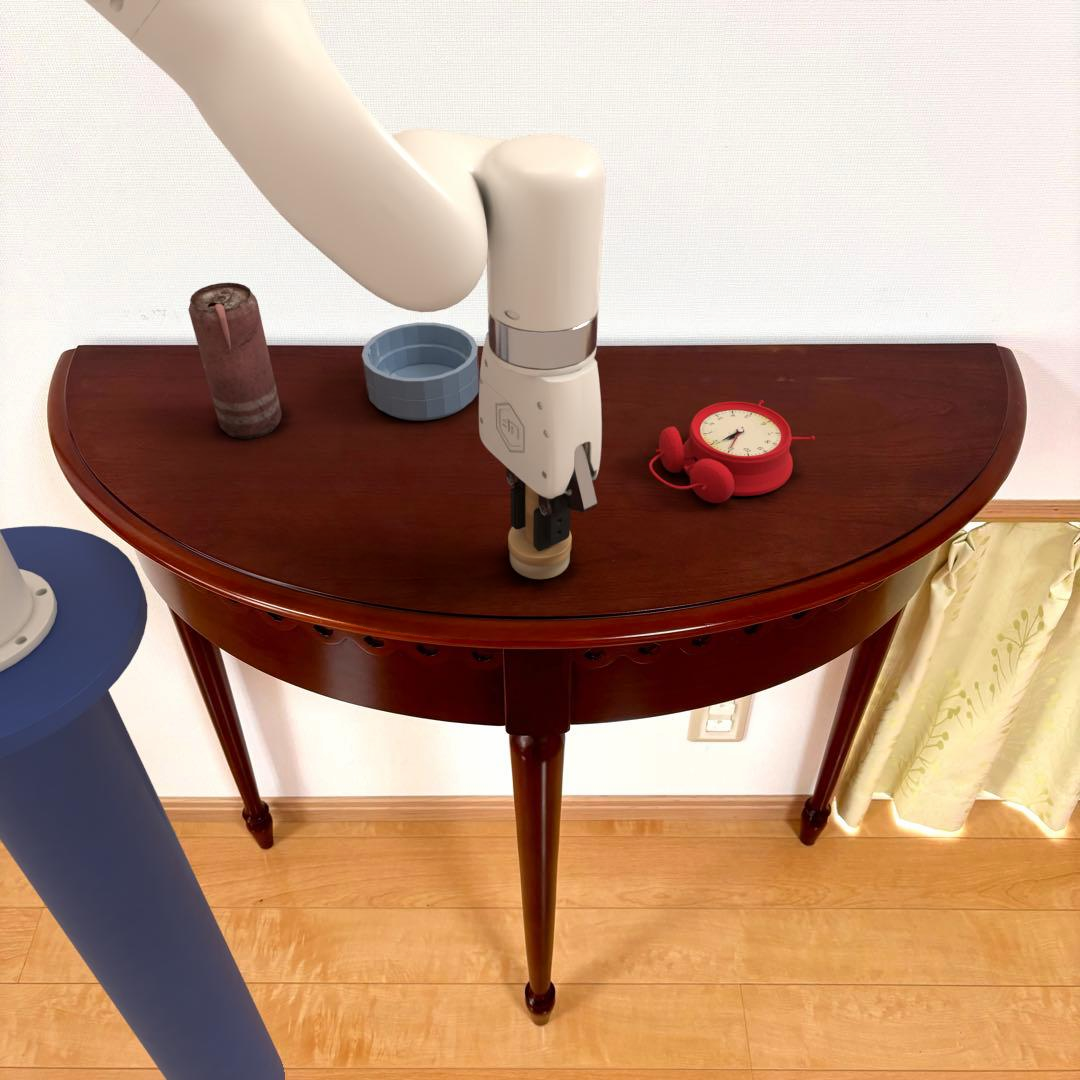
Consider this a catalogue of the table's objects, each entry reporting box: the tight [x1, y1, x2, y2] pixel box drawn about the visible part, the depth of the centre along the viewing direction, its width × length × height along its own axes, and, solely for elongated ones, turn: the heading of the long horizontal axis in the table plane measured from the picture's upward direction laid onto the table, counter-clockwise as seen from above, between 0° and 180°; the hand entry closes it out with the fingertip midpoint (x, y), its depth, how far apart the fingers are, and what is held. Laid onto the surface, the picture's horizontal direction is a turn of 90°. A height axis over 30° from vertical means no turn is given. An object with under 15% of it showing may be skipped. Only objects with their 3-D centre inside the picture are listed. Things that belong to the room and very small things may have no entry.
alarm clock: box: [648, 399, 816, 504], centre depth 89 cm, size 10×6×15 cm
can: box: [187, 282, 283, 440], centre depth 92 cm, size 6×6×14 cm
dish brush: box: [507, 484, 573, 580], centre depth 77 cm, size 5×5×8 cm
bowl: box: [361, 321, 480, 422], centre depth 99 cm, size 12×12×5 cm
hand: (540, 531), depth 78 cm, fingers closed on dish brush, 2 cm apart
